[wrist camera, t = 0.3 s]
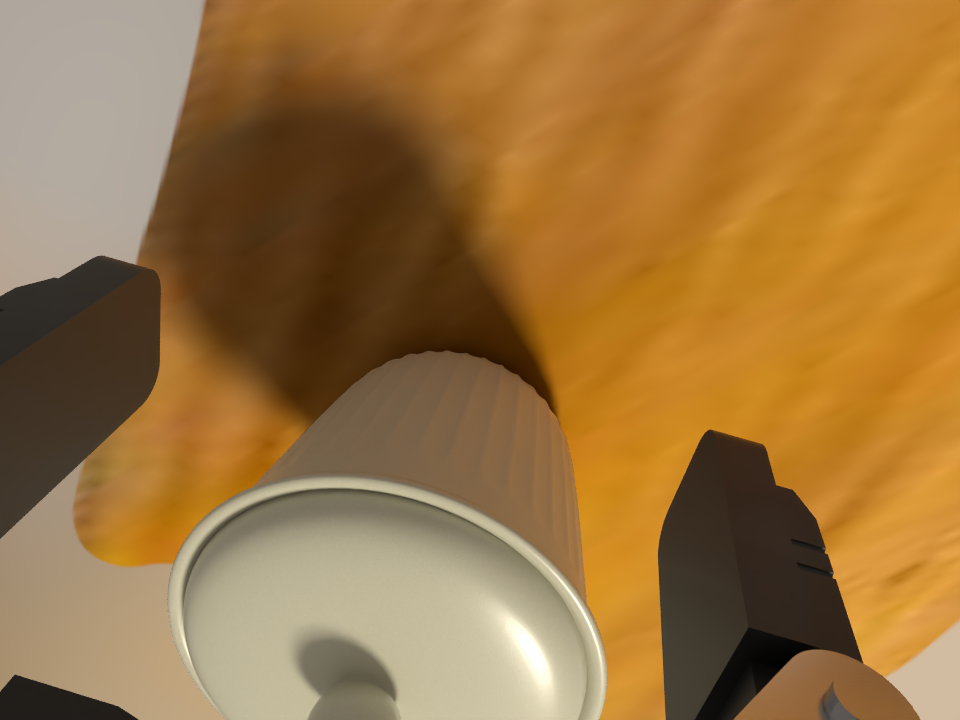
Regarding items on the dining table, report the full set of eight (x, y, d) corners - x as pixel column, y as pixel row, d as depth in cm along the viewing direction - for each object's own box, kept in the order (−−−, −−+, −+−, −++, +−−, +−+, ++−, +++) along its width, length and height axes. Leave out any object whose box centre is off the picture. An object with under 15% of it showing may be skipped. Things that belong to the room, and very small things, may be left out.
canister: (579, 583, 49) (551, 962, 30) (305, 523, 50) (122, 850, 32) (645, 331, 40) (663, 646, 22) (313, 267, 42) (68, 513, 23)
